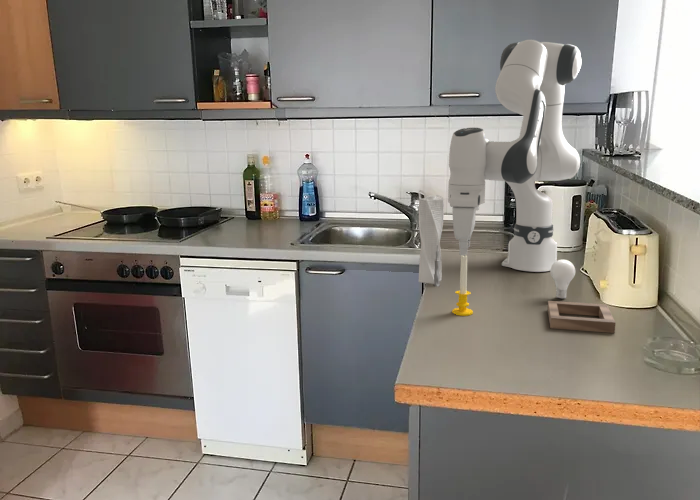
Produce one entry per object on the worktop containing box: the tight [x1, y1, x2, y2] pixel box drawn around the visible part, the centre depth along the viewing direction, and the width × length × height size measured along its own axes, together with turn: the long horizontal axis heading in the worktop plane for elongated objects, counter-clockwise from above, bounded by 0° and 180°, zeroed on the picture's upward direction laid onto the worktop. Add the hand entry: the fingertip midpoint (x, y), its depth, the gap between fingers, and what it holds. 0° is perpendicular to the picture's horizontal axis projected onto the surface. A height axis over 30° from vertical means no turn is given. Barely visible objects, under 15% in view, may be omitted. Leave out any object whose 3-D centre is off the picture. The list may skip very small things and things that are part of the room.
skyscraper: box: [418, 190, 445, 287], centre depth 177 cm, size 8×8×28 cm
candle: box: [451, 254, 474, 317], centre depth 151 cm, size 5×5×16 cm
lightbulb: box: [549, 259, 576, 300], centre depth 162 cm, size 6×6×11 cm
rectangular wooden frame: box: [547, 300, 616, 334], centre depth 146 cm, size 14×14×2 cm
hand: (464, 251), depth 149 cm, fingers open, 8 cm apart
